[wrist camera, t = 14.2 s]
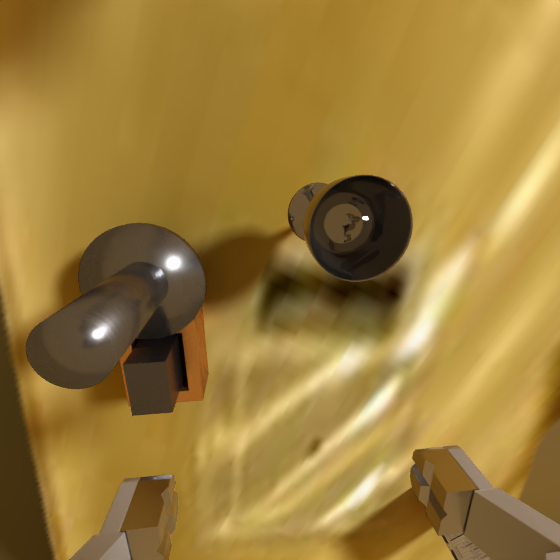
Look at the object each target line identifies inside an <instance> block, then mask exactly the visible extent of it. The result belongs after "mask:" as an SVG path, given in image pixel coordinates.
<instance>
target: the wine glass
mask: <svg viewBox="0 0 560 560" xmlns="http://www.w3.org/2000/svg"><path fill="white" fill-rule="evenodd" d="M288 217H289V222H290V226H291V228H292V229H293V231H294V232H295V234H296V235H298V236H299V237H300V238H301V239H303V240H305V241H306V244H307V247H308V249H309V251H310V253H311V254H312V256H313V257H314V259H315V260H316V261H317V262H318V264H319V265H320V266H321V267H322V268H324V269H325V270H326V271H327V272H328V273H330V274H331V275H333V276H335V277H337V278H340V279H342V280H346V281H352V282H354V281H366V280H370V279H373V278H376V277H378V276H380V275H382V274H384V273H386V272H387V271H388V270H390V269H391V268H392V267H393V266H394V265H395V264H396V263H397V262H398V261H399V260H400V258H401V257H402V256H403V254H404V253H405V251H406V249H407V247H408V244H409V241H410V238H411V234H412V227H413V223H412V213H411V208H410V206H409V203H408V201H407V199H406V197H405V196H404V194H403V193H402V192H401V190H400V189H399V188H398V187H397V186H395V185H394V184H393V183H391V182H390V181H388V180H386V179H384V178H381V177H377V176H373V175H355V176H349V177H344V178H341V179H338V180H335V181H333V182H331V183H330V184H324V183H312V184H309V185H306V186H305V187H303V188H301V189H300V190H299V191H298V192H297V193H296V194H295V195H294V197H293V198H292V200H291V203H290V205H289V210H288Z"/></svg>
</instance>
